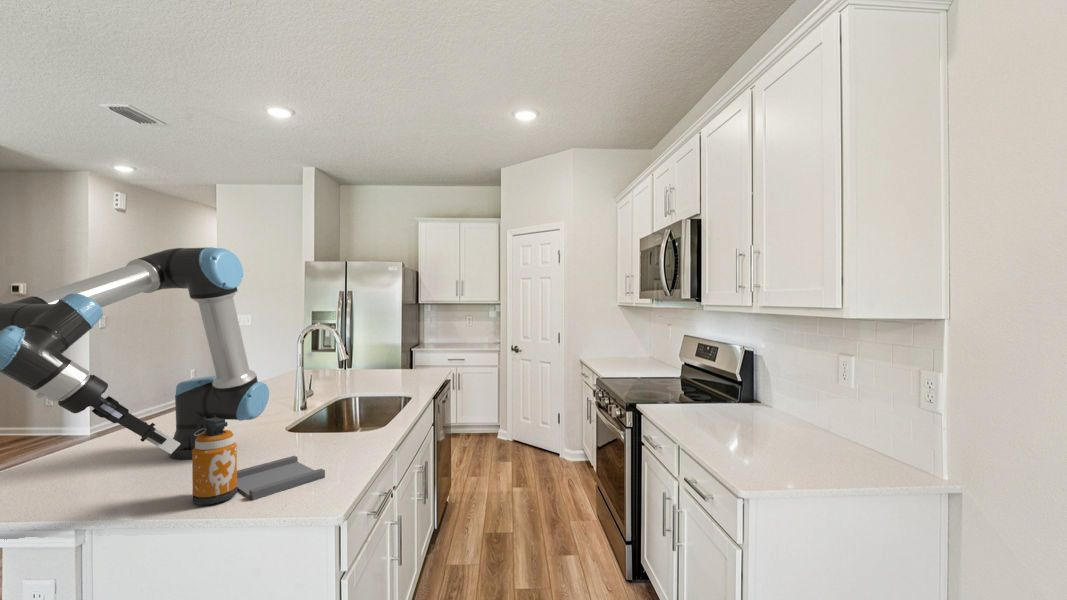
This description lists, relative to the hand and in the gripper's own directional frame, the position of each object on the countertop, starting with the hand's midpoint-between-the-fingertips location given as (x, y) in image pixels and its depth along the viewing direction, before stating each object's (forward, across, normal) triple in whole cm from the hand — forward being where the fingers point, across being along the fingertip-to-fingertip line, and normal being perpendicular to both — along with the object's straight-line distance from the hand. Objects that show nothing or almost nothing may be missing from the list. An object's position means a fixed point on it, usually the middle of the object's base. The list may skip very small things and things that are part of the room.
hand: (174, 448), depth 108 cm
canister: (+16, 0, -5) cm, 16 cm away
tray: (+26, 0, +6) cm, 26 cm away
